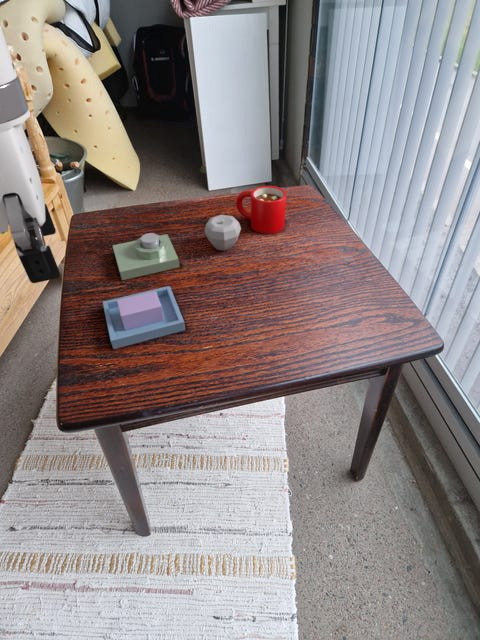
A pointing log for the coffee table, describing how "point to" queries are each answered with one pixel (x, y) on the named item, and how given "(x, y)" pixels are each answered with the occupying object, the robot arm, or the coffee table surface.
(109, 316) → the soap dish
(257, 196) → the mug
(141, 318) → the soap bar
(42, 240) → the robot arm
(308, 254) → the coffee table surface
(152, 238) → the grey push button
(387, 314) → the coffee table surface
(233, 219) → the apple
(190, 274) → the coffee table surface
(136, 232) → the coffee table surface
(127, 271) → the green push button box
